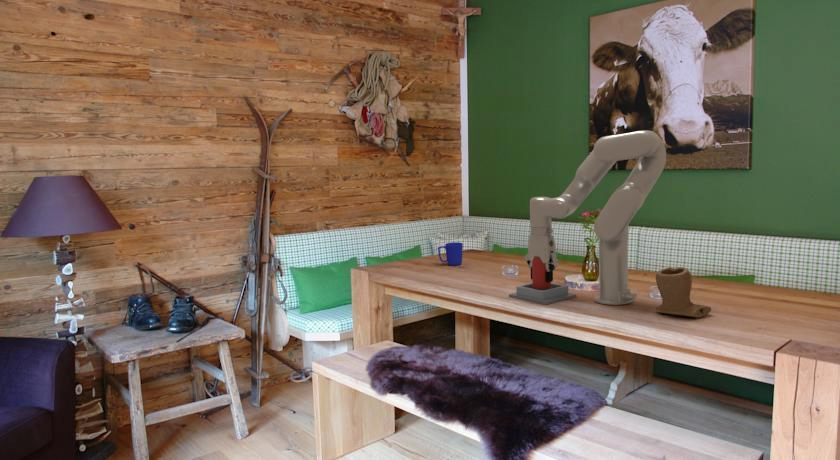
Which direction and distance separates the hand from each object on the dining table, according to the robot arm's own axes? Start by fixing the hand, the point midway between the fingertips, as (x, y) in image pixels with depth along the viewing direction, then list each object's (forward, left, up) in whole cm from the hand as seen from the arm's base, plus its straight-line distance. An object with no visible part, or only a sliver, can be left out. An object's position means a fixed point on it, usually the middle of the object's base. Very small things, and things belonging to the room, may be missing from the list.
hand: (541, 279), depth 239 cm
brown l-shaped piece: (-48, -11, -7) cm, 50 cm away
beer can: (0, 0, -3) cm, 3 cm away
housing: (0, 0, -6) cm, 6 cm away
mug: (+76, -19, -6) cm, 79 cm away
